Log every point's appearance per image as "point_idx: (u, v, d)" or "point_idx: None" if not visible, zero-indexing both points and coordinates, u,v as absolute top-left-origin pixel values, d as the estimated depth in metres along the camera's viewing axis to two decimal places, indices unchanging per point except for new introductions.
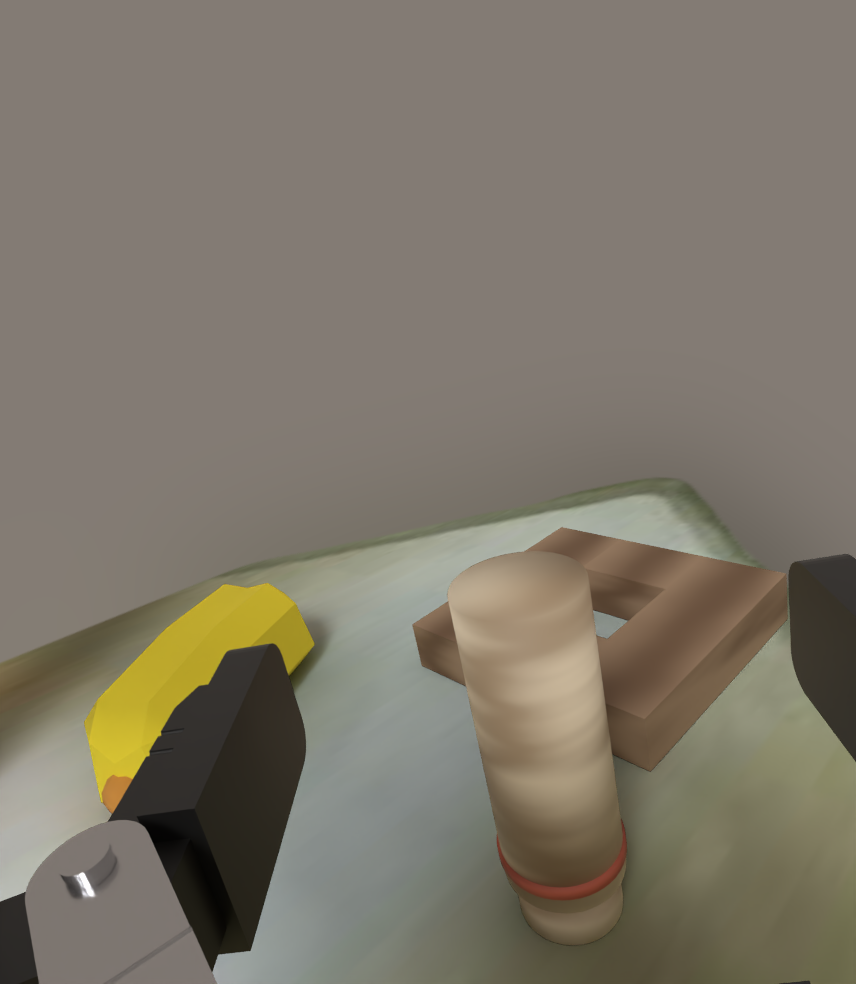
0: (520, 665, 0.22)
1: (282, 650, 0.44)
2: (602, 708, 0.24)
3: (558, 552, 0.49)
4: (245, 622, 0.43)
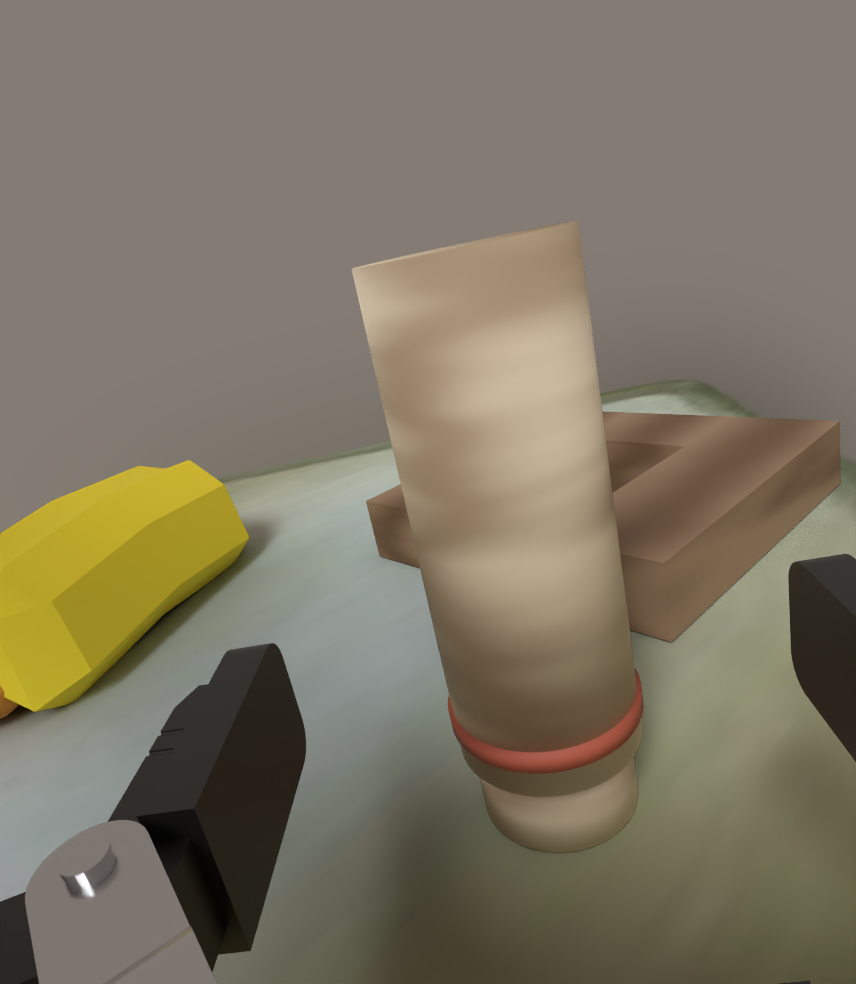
0: (462, 340, 0.13)
1: (203, 534, 0.35)
2: (603, 453, 0.15)
3: None
4: (153, 495, 0.34)
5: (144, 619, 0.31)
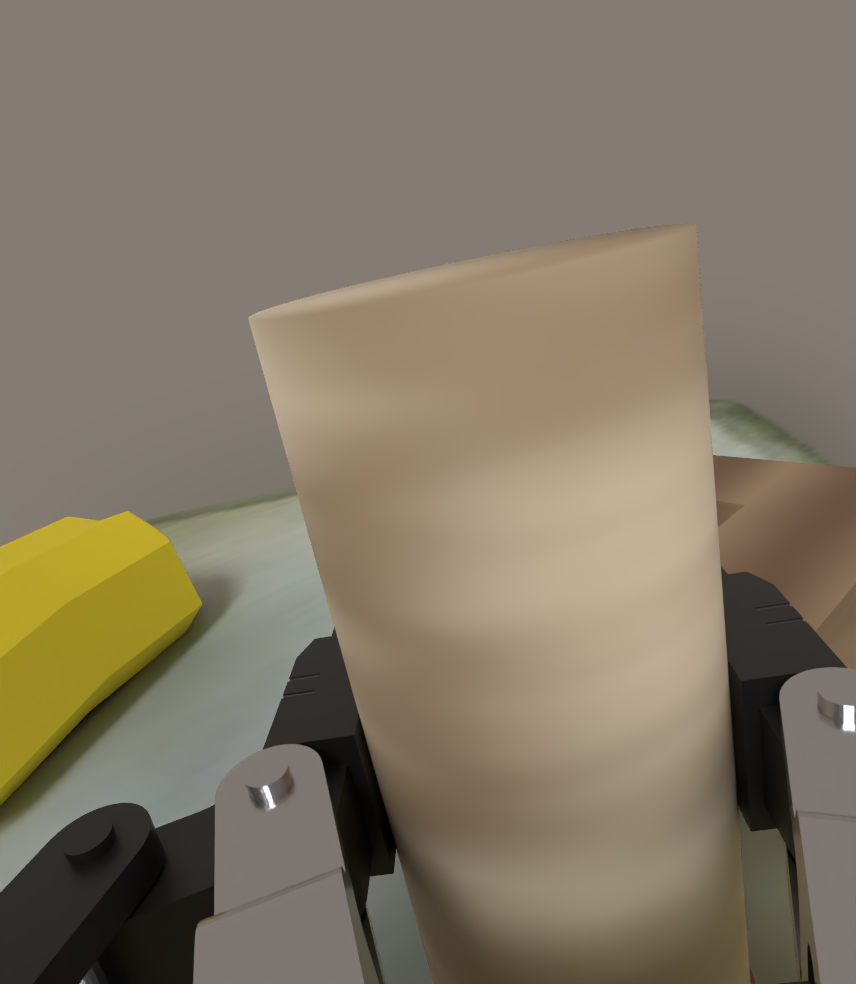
0: (463, 484, 0.06)
1: (140, 608, 0.29)
2: (725, 658, 0.08)
3: None
4: (75, 562, 0.27)
5: (55, 731, 0.24)
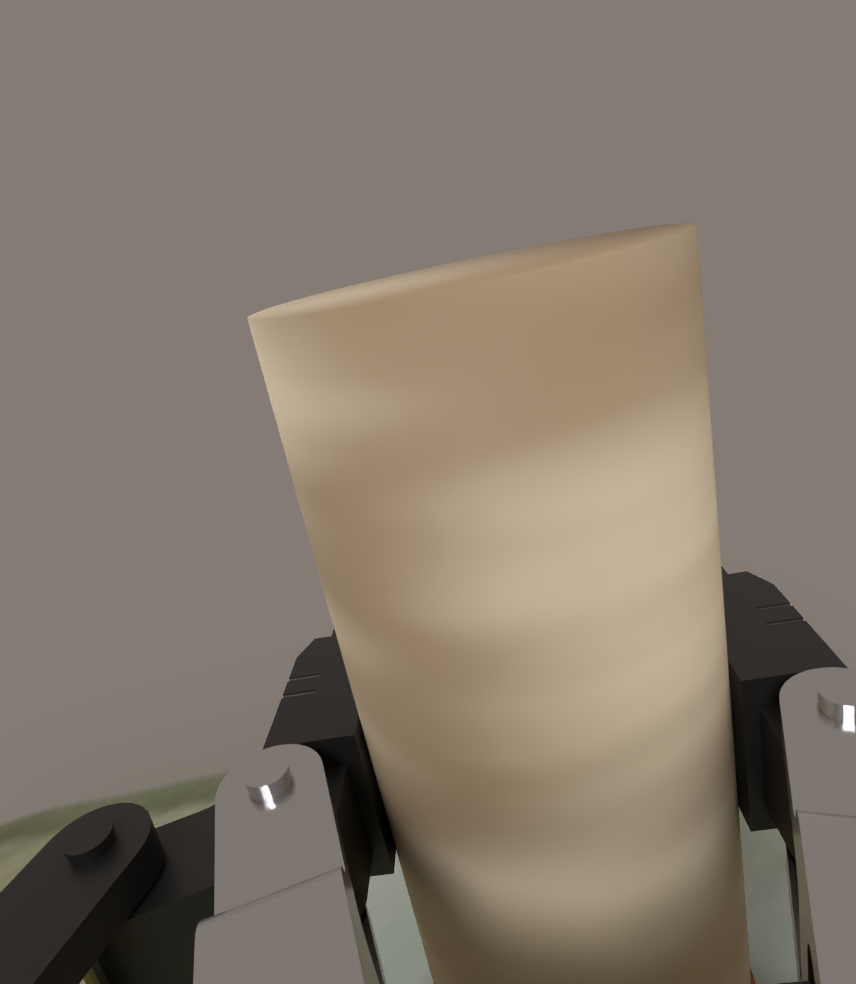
0: (462, 484, 0.06)
1: None
2: (726, 659, 0.08)
3: None
4: None
5: None
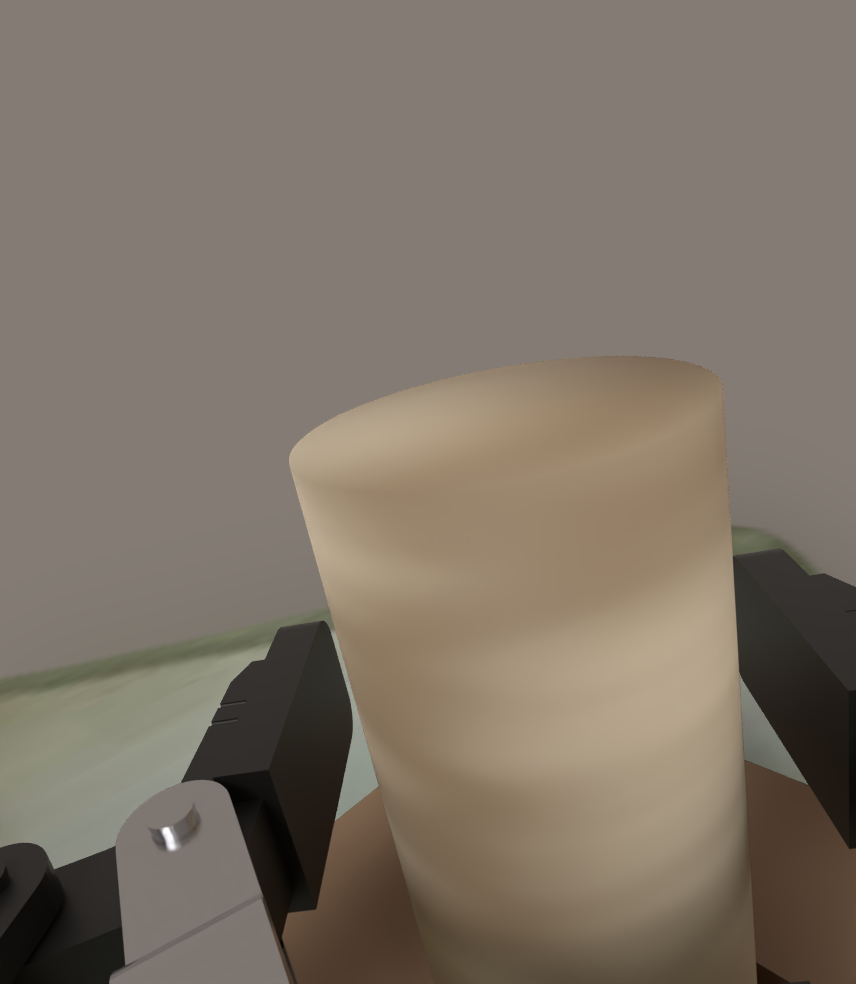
0: (501, 651, 0.06)
1: None
2: (744, 778, 0.08)
3: None
4: None
5: None
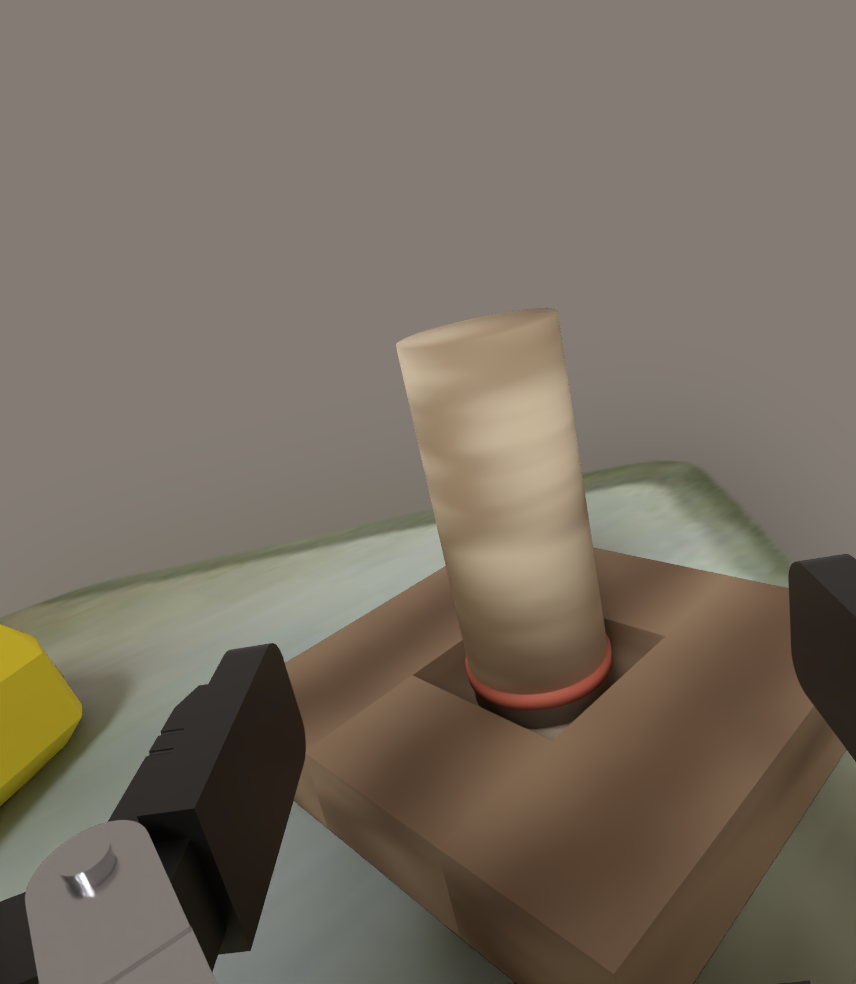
0: (476, 401, 0.19)
1: (4, 735, 0.26)
2: (578, 475, 0.21)
3: None
4: None
5: None
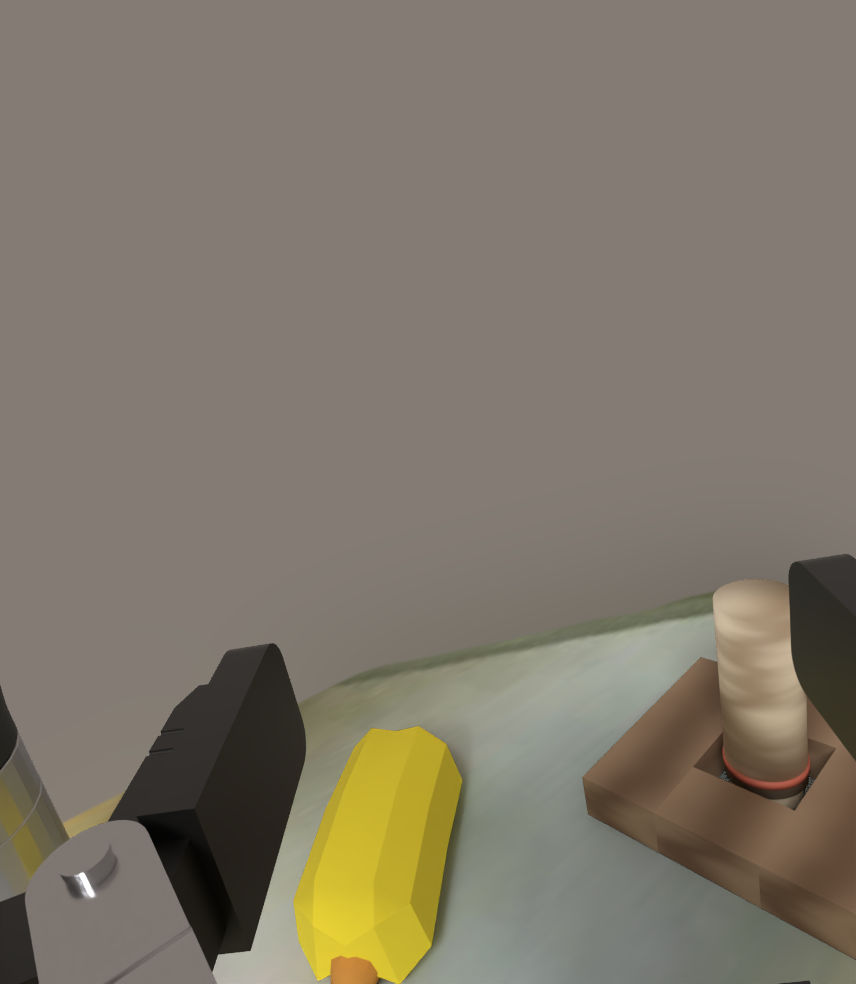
0: (769, 645, 0.38)
1: (447, 795, 0.46)
2: None
3: (707, 690, 0.50)
4: (418, 775, 0.45)
5: (440, 887, 0.41)
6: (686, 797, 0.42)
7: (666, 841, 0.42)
